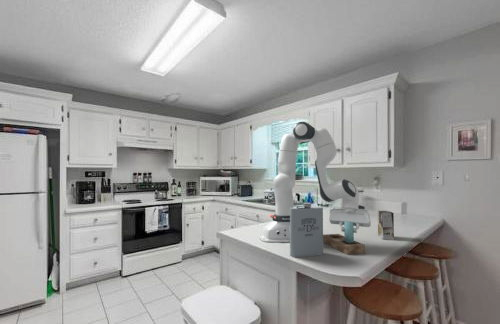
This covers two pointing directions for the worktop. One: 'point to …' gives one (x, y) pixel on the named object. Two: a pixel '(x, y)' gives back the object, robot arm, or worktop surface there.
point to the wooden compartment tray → (343, 244)
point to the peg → (348, 232)
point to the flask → (306, 231)
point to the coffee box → (386, 225)
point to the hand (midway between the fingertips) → (348, 231)
